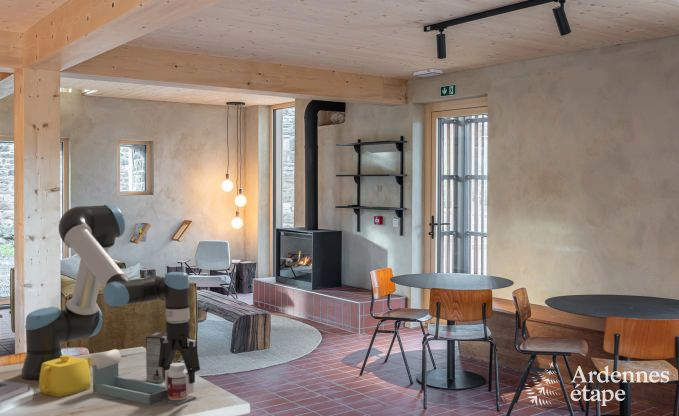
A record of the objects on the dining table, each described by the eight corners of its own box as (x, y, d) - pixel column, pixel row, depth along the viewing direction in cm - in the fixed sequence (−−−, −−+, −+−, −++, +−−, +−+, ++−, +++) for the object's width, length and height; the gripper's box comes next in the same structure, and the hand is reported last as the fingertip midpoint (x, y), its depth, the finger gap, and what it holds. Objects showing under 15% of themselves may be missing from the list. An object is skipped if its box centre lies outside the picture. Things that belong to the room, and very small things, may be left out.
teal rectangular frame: (89, 391, 244) (88, 354, 244) (112, 383, 253) (111, 348, 252) (150, 404, 231) (150, 365, 230) (172, 396, 239) (172, 358, 238)
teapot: (80, 379, 258) (80, 346, 258) (104, 385, 252) (103, 351, 251) (29, 394, 242) (29, 358, 241) (53, 400, 235) (52, 364, 234)
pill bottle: (169, 395, 238) (168, 361, 238) (188, 394, 239) (188, 361, 238) (166, 401, 232) (166, 367, 231) (186, 400, 233) (186, 366, 232)
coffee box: (157, 374, 265) (157, 330, 264) (174, 375, 263) (173, 331, 262) (145, 381, 256) (145, 336, 255) (163, 382, 254) (162, 337, 253)
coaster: (159, 401, 234) (159, 399, 234) (177, 394, 241) (177, 392, 241) (178, 405, 230) (178, 403, 230) (195, 398, 237) (195, 396, 237)
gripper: (145, 320, 236) (147, 389, 237) (195, 326, 225) (196, 398, 226) (161, 316, 242) (163, 383, 243) (210, 321, 232) (212, 392, 233)
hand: (179, 391), depth 235 cm, fingers open, 8 cm apart
